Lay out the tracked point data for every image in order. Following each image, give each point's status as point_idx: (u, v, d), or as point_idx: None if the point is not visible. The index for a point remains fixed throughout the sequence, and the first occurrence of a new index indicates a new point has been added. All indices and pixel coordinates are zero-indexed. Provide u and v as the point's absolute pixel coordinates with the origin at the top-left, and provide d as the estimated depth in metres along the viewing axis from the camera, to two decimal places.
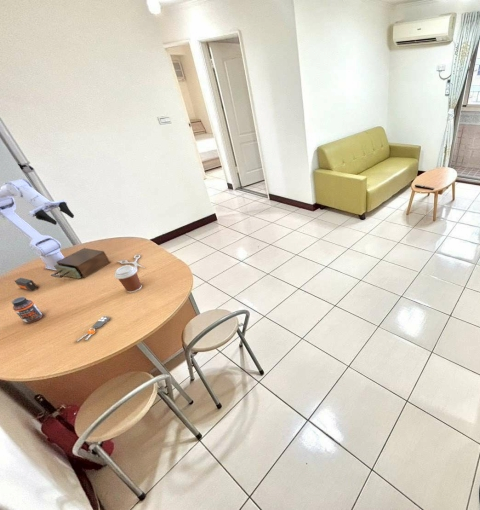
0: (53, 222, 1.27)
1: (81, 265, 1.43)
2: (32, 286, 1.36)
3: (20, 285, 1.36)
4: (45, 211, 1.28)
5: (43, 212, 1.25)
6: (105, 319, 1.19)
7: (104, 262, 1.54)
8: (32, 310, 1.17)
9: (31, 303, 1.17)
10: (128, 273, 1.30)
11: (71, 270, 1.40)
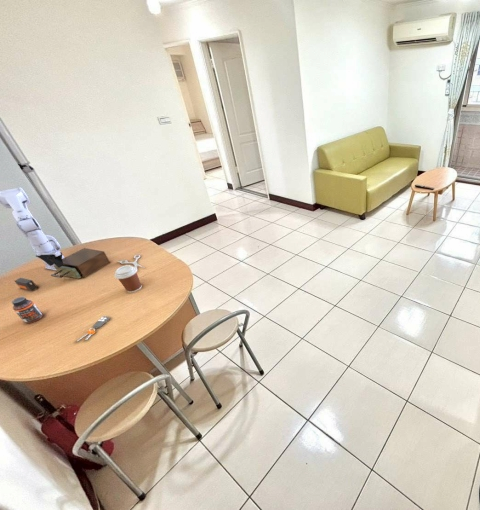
0: None
1: (81, 265, 1.43)
2: (32, 286, 1.36)
3: (20, 285, 1.36)
4: None
5: (40, 257, 1.34)
6: (105, 319, 1.19)
7: (104, 262, 1.54)
8: (32, 310, 1.17)
9: (31, 303, 1.17)
10: (128, 273, 1.30)
11: (71, 270, 1.40)
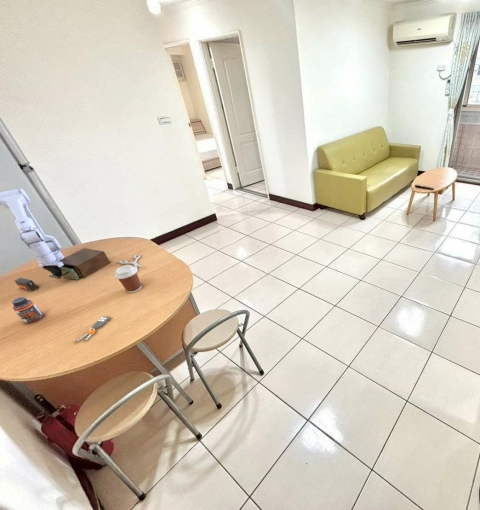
0: None
1: (81, 265, 1.43)
2: (32, 286, 1.36)
3: (20, 285, 1.36)
4: None
5: (46, 269, 1.35)
6: (105, 319, 1.19)
7: (104, 262, 1.54)
8: (32, 310, 1.17)
9: (31, 303, 1.17)
10: (128, 273, 1.30)
11: (69, 271, 1.40)
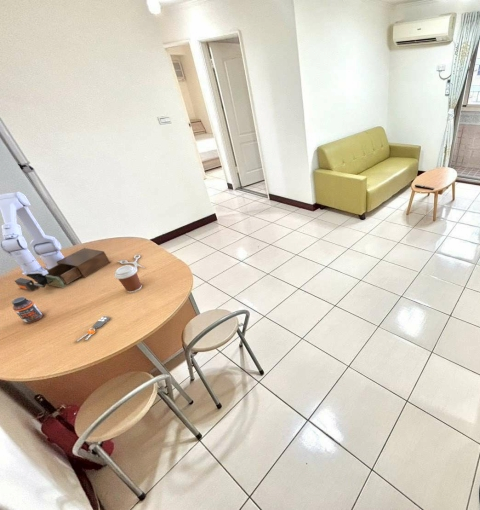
0: None
1: (81, 265, 1.43)
2: (32, 286, 1.36)
3: (20, 285, 1.36)
4: None
5: (30, 277, 1.30)
6: (105, 319, 1.19)
7: (104, 262, 1.54)
8: (32, 310, 1.17)
9: (31, 303, 1.17)
10: (128, 273, 1.30)
11: (55, 279, 1.34)
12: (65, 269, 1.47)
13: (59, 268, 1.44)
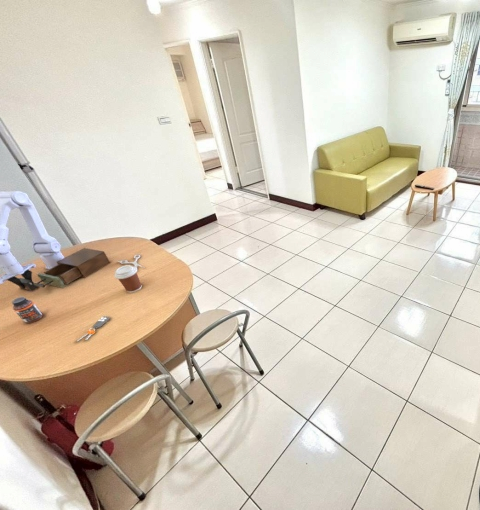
0: (21, 287, 1.35)
1: (81, 265, 1.43)
2: (32, 286, 1.36)
3: None
4: None
5: (18, 280, 1.32)
6: (105, 319, 1.19)
7: (104, 262, 1.54)
8: (32, 310, 1.17)
9: (31, 303, 1.17)
10: (128, 273, 1.30)
11: (55, 279, 1.34)
12: (65, 269, 1.47)
13: (59, 268, 1.44)
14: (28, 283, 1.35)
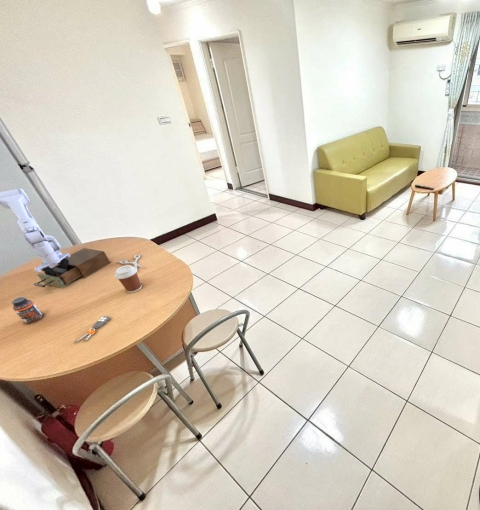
0: None
1: (81, 265, 1.43)
2: None
3: (56, 274, 1.40)
4: (49, 265, 1.36)
5: (52, 270, 1.35)
6: (105, 319, 1.18)
7: (104, 262, 1.54)
8: (32, 310, 1.17)
9: (31, 303, 1.17)
10: (128, 273, 1.30)
11: (55, 279, 1.34)
12: None
13: None
14: (64, 272, 1.39)
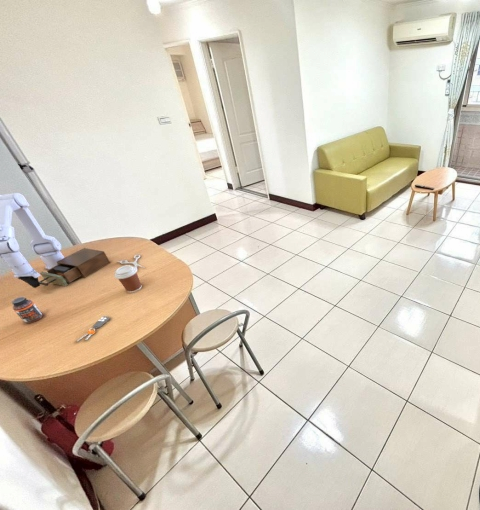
0: None
1: (81, 265, 1.43)
2: None
3: (58, 273, 1.41)
4: None
5: (22, 279, 1.28)
6: (105, 319, 1.19)
7: (104, 262, 1.54)
8: (32, 310, 1.17)
9: (31, 303, 1.17)
10: (128, 273, 1.30)
11: (58, 277, 1.35)
12: None
13: (61, 266, 1.45)
14: (66, 271, 1.40)
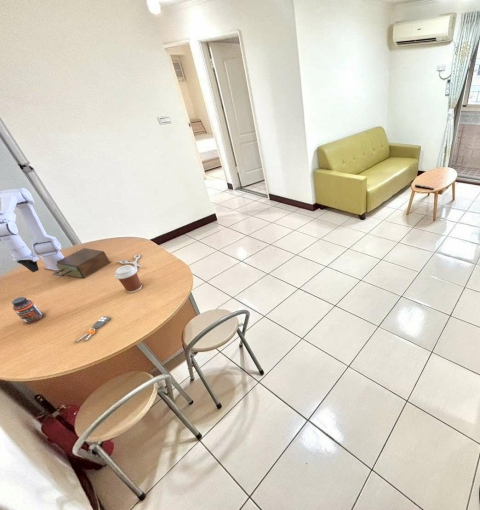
0: None
1: (81, 265, 1.43)
2: None
3: None
4: None
5: (21, 263, 1.28)
6: (105, 319, 1.19)
7: (104, 262, 1.54)
8: (32, 310, 1.17)
9: (31, 303, 1.17)
10: (128, 273, 1.30)
11: (73, 269, 1.41)
12: None
13: None
14: None
